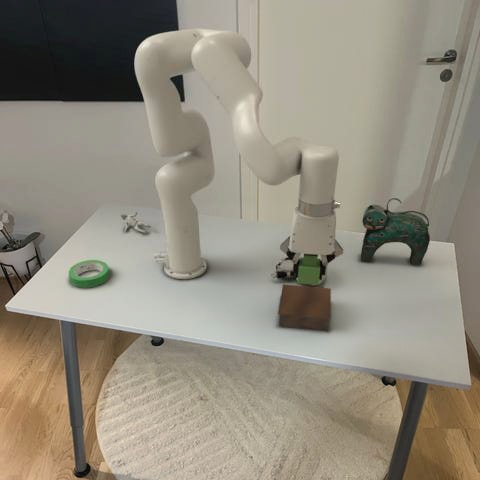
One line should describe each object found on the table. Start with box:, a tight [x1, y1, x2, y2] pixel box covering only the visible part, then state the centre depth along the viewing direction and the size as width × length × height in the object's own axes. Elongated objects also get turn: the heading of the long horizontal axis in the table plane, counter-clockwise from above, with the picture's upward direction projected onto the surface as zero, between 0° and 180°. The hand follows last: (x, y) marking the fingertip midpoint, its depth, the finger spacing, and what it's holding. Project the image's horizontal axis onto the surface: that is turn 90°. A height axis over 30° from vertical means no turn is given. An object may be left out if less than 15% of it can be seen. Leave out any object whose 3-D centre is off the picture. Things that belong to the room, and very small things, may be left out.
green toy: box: [297, 254, 321, 286], centre depth 110 cm, size 5×5×7 cm
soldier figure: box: [120, 211, 151, 235], centre depth 156 cm, size 8×5×12 cm
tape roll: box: [68, 259, 111, 289], centre depth 133 cm, size 11×11×3 cm
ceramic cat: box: [360, 197, 431, 266], centre depth 134 cm, size 20×6×20 cm, turn 80°
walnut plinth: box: [277, 284, 332, 332], centre depth 118 cm, size 13×13×4 cm
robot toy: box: [270, 256, 328, 287], centre depth 132 cm, size 12×4×15 cm
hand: (308, 275), depth 112 cm, fingers closed on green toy, 5 cm apart
